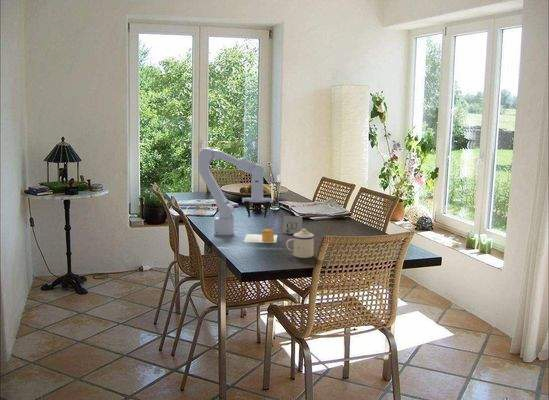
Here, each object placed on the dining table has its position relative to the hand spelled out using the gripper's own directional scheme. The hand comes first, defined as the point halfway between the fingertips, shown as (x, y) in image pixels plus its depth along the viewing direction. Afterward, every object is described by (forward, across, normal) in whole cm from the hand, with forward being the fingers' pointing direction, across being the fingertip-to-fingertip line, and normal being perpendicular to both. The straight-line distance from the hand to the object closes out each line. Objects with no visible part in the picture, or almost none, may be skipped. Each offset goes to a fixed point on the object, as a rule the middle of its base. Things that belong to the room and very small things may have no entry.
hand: (257, 217), depth 290 cm
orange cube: (+8, +6, -13) cm, 17 cm away
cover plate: (+9, +2, -9) cm, 13 cm away
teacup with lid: (+10, +21, -35) cm, 42 cm away
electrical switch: (+10, +17, +5) cm, 20 cm away
